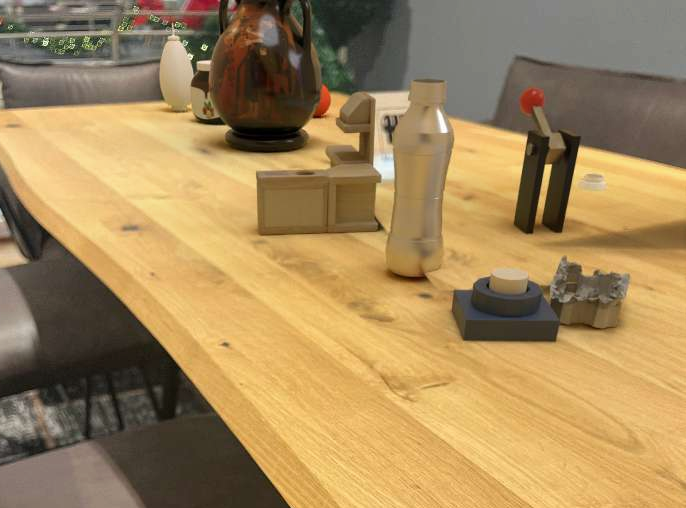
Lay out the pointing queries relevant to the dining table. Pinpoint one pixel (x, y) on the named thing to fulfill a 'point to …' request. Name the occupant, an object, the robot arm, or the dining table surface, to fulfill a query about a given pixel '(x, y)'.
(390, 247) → the plastic bottle
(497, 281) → the button
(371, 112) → the toy kitchen set
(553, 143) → the lever
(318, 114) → the clementine
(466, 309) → the control block
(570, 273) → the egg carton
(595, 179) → the lidless jar
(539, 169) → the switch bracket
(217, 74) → the amphora vase
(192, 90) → the spread jar
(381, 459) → the dining table surface
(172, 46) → the sauce bottle
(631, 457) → the dining table surface
